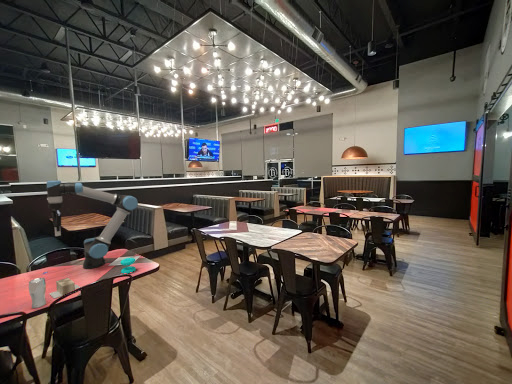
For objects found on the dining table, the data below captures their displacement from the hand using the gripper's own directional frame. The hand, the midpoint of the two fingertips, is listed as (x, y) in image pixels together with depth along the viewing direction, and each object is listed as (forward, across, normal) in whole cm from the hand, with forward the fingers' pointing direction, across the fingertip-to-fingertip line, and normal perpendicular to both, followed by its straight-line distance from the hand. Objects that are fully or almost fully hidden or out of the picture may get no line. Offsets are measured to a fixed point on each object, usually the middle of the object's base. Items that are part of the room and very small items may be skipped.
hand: (58, 235), depth 157 cm
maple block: (+29, +18, -4) cm, 34 cm away
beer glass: (+33, +30, -18) cm, 48 cm away
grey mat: (+32, +24, -4) cm, 40 cm away
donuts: (+33, +28, +33) cm, 54 cm away
